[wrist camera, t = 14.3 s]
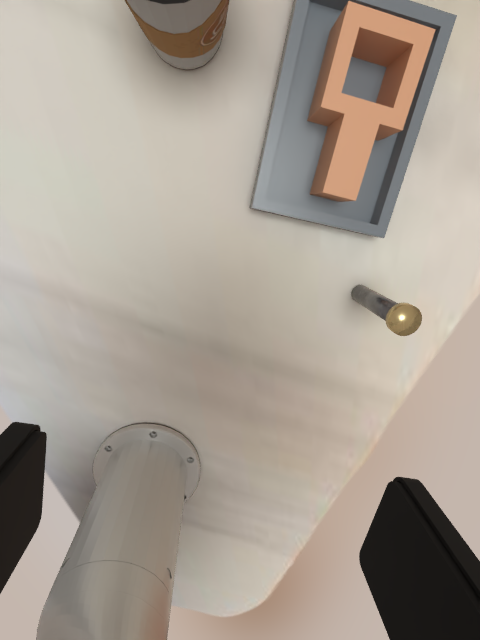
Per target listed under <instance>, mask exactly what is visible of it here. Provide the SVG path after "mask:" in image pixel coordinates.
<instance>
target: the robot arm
mask: <svg viewBox="0 0 480 640" xmlns="http://www.w3.org/2000/svg"><path fill="white" fill-rule="evenodd" d="M46 438H47V436H46V433H45V432H40V426H39V425H34V424H27V423H20V422H13V423H12V424H11V425H10V426H9V427H8V428H7V429H6V430H5V431H4V432H3V433H2V434H1V435H0V593H1V592H2V590H3V588H4V586H5V585H6V583H7V581H8V579H9V578H10V576H11V574H12V572H13V571H14V569H15V567H16V565H17V563H18V562H19V560H20V558H21V557H22V555H23V553H24V551H25V549H26V548H27V546H28V544H29V542H30V541H31V539H32V537H33V535H34V534H35V532H36V530H37V528H38V525H39V523H40V519H41V514H42V501H43V500H42V499H43V485H44V470H45V454H46ZM93 477H94V481H95V483H96V486H97V487H96V489H95V492H94V494H93V496H92V498H91V501H90V503H89V505H88V507H87V510H86V512H85V514H84V516H83V519H82V521H81V523H80V525H79V528H78V530H77V532H76V534H75V537H74V539H73V541H72V543H71V546H70V548H69V550H68V553H67V555H66V557H65V559H64V562H63V564H62V566H61V568H60V571H59V573H58V575H57V577H56V580H55V582H54V584H53V586H52V589H51V591H50V593H49V596H48V598H47V600H46V603H45V605H44V608H43V610H42V613H41V616H40V620H39V624H38V629H37V637H36V640H167V633H168V626H169V618H170V609H171V601H172V593H173V585H174V577H175V568H176V560H177V552H178V544H179V536H180V527H181V519H182V511H183V503H184V502H186V501H187V500H188V499H189V498H190V497H191V496H192V494H193V493H194V491H195V489H196V488H197V485H198V482H199V477H200V461H199V457H198V454H197V452H196V450H195V448H194V447H193V445H192V444H191V443H190V442H189V440H188V439H186V438H185V437H184V436H183V435H182V434H180V433H178V432H177V431H175V430H173V429H171V428H168V427H165V426H162V425H156V424H136V425H131V426H127V427H124V428H122V429H120V430H118V431H116V432H114V433H113V434H112V435H110V436H109V437H108V438H107V439H106V440H105V441H104V442H103V443H102V445H101V446H100V448H99V450H98V452H97V454H96V456H95V459H94V462H93ZM359 557H360V565H361V568H362V571H363V573H364V576H365V578H366V581H367V583H368V586H369V588H370V591H371V593H372V595H373V598H374V601H375V603H376V606H377V608H378V611H379V613H380V616H381V618H382V621H383V623H384V626H385V628H386V631H387V633H388V636H389V639H390V640H480V561H479V560H478V558H477V557H476V556H475V554H474V553H473V552H472V550H471V549H470V548H469V546H468V545H467V544H466V542H465V541H464V540H463V538H462V537H461V536H460V534H459V533H458V531H457V530H456V529H455V528H454V526H453V525H452V523H451V522H450V521H449V519H448V518H447V517H446V515H445V514H444V513H443V511H442V510H441V508H440V507H439V506H438V504H437V503H436V502H435V500H434V499H433V498H432V496H431V495H430V494H429V492H428V491H427V490H426V488H425V487H424V486H423V484H422V483H421V482H420V481H419V480H417V479H410V478H403V477H396V478H395V479H394V480H393V481H391V482H389V483H388V485H387V487H386V490H385V492H384V495H383V497H382V500H381V502H380V504H379V507H378V509H377V511H376V514H375V516H374V519H373V521H372V523H371V526H370V528H369V531H368V533H367V536H366V538H365V540H364V543H363V545H362V548H361V550H360V556H359Z"/></svg>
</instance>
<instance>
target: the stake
mask: <svg viewBox="0 0 480 640" xmlns="http://www.w3.org/2000/svg"><path fill="white" fill-rule="evenodd" d="M351 296H352V298H353V299H354V300H355V301H357V302H358V303H360V304H361V305H363V306H364V307H366V308H367V309H369V310H370V311H372V312H373V313H375V314H376V315H378V316H379V317H381V318H382V319H384V320H385V321H386V325H387V327H388V328H389V329H390V330H391V331H393V332H394V333H395V334H397V335H400V336H407V335H410V334H412V333H414V332H415V331H416V330H417V329H418V328H419V326H420V324H421V321H422V315H421V312H420V311H419V309H418V308H416V307H415V306H413V305H411V304H408V303H399V304H398V303H396V302H394V301H392V300H390V299H388V298H386V297H384V296H383V295H381V294H379V293H377V292H375V291H373V290H371V289H369V288H367V287H365V286H363V285H358V286H356V287H354V288H353V290H352V292H351Z"/></svg>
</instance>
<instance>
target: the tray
mask: <svg viewBox="0 0 480 640" xmlns="http://www.w3.org/2000/svg"><path fill="white" fill-rule="evenodd" d="M348 1H351V2H354V3H357V4H360V5H363V6H366V7H369V8H372V9H375V10H378V11H382V12H385V13H388V14H391V15H394V16H397V17H400V18H403V19H406V20H409V21H412V22H415V23H418V24H421V25H424V26H427V27H430V28H433V29H436V30H435V33H434V36H433V39H432V42H431V45H430V48H429V51H428V54H427V57H426V60H425V63H424V66H423V69H422V72H421V75H420V79H419V82H418V85H417V88H416V91H415V94H414V97H413V100H412V103H411V106H410V109H409V112H408V115H407V118H406V121H405V124H404V127H403V130H402V131H400V132H398V133H395V134H393V135H391V136H388V137H386V138H384V139H381V140H379V141H377V140H375V141H374V144H373V147H372V150H371V154H370V157H369V160H368V163H367V166H366V170H365V173H364V176H363V179H362V183H361V186H360V189H359V192H358V196H357V199H356V201H344V202H337V201H333V200H329V199H325V198H321V197H318V196H314V195H310V191H311V187H312V183H313V179H314V176H315V172H316V168H317V165H318V161H319V157H320V154H321V150H322V146H323V143H324V139H325V135H326V132H327V128H328V127H327V126H324V125H320V124H317V123H313V122H310V121H307V119H308V115H309V111H310V107H311V103H312V99H313V95H314V92H315V88H316V84H317V80H318V76H319V72H320V68H321V64H322V60H323V56H324V52H325V48H326V44H327V40H328V37H329V33H330V30H331V28H332V27H333V25H334V23H335V22H336V20H337V19H338V17H339V15H340V14H341V12H342V11H343V9H344V7H345V6H346V4H347V2H348ZM456 17H457V15H454V14H451V13H447V12H444V11H441V10H438V9H435V8H432V7H428V6H425V5H422V4H419V3H416V2H413V1H410V0H294V2H293V7H292V12H291V17H290V21H289V26H288V31H287V35H286V40H285V45H284V49H283V54H282V59H281V63H280V68H279V73H278V78H277V82H276V87H275V92H274V96H273V101H272V106H271V110H270V115H269V120H268V124H267V129H266V134H265V138H264V143H263V148H262V153H261V157H260V162H259V167H258V171H257V176H256V181H255V185H254V190H253V195H252V199H251V204H250V208H252V209H256V210H261V211H265V212H269V213H274V214H278V215H283V216H287V217H291V218H296V219H300V220H304V221H309V222H313V223H318V224H322V225H326V226H331V227H335V228H339V229H344V230H348V231H353V232H357V233H361V234H366V235H370V236H375V237H381V238H384V237H385V234H386V230H387V227H388V224H389V221H390V218H391V215H392V212H393V209H394V206H395V203H396V200H397V197H398V194H399V191H400V188H401V185H402V182H403V179H404V175H405V172H406V169H407V166H408V163H409V160H410V157H411V154H412V151H413V148H414V145H415V142H416V139H417V136H418V133H419V130H420V127H421V124H422V120H423V117H424V114H425V111H426V108H427V105H428V102H429V99H430V96H431V93H432V90H433V87H434V84H435V81H436V78H437V75H438V72H439V69H440V65H441V62H442V59H443V56H444V53H445V50H446V47H447V44H448V41H449V38H450V35H451V32H452V29H453V26H454V23H455V20H456ZM385 71H386V67H384V66H381V65H378V64H374V63H371V62H368V61H365V60H361V59H358V58H355V57H352V56H351V60H350V63H349V67H348V71H347V74H346V78H345V82H344V85H343V89H342V93H343V94H347V95H350V96H353V97H357V98H360V99H364V100H367V101H370V102H374V103H376V100H377V97H378V94H379V90H380V87H381V84H382V80H383V77H384V74H385Z"/></svg>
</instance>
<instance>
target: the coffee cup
mask: <svg viewBox="0 0 480 640" xmlns="http://www.w3.org/2000/svg"><path fill="white" fill-rule="evenodd" d="M125 2H126V3H127V5H128V7H129V8H130V10H131V12H132V13H133V15H134V17H135V19H136V20H137V22H138V24H139V25H140V27H141V29H142V30H143V32H144V33H145V35H146V37H147V38H148V40H149V41H150V43H151V44H152V46H153V47H154V49H155V51H156V52H157V54H158V55H159V56H160V57H161V58H162V59H163V60H164V61H165V62H167V63H168V64H170V65H172V66H174V67H176V68H181V69H195V68H198V67H200V66H203V65H205V64H206V63H207V62H208V61H209V60H211V59H212V57H213V56H214V55H215V53H216V52H217V50H218V48H219V45H220V43H221V40H222V35H223V30H224V27H225V23H226V17H227V11H228V5H229V0H125Z"/></svg>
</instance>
